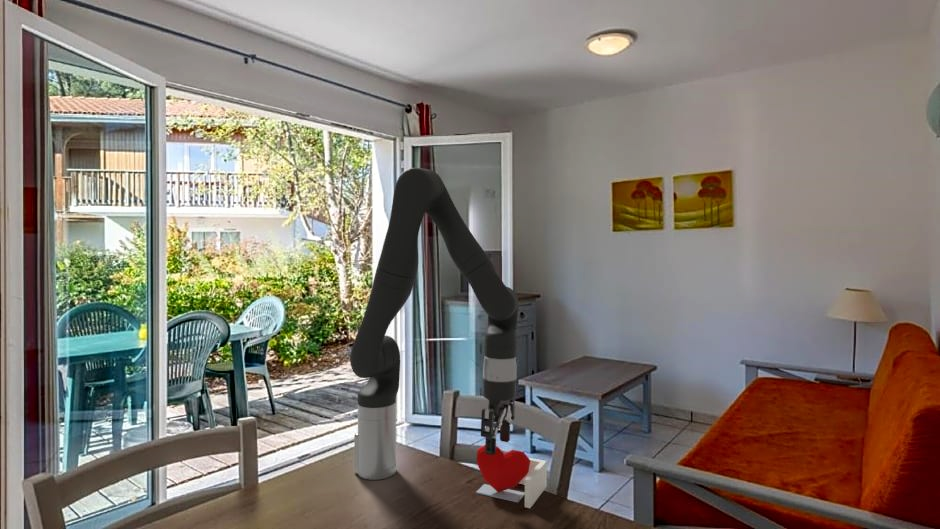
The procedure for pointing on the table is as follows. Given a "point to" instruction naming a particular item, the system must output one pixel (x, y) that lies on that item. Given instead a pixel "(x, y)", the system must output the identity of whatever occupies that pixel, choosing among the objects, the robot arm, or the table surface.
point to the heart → (502, 468)
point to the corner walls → (534, 481)
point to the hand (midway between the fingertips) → (497, 447)
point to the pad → (501, 493)
